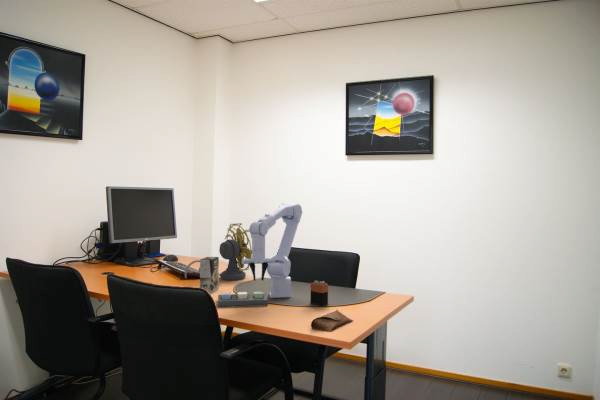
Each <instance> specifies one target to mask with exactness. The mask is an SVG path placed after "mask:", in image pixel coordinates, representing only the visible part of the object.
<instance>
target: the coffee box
mask: <svg viewBox="0 0 600 400" xmlns="http://www.w3.org/2000/svg"><path fill="white" fill-rule="evenodd" d="M219 259H220V258H219V256H206V257H203V258H201V259H199V260H200V262H199V268H200V275H199V289H200V288H203V289H205V290H207V291H208V292H209V293H208V294H214V293H215V292H216V291H218V290H220V288H219V285H220V284H219V283H220V282H219V279H220V276H219V274H220V272H219V271H220V270H219V269H220V267H219V266H220V265H219V263H220V261H219Z"/></svg>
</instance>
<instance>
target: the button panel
mask: <svg viewBox="0 0 600 400" xmlns="http://www.w3.org/2000/svg"><path fill="white" fill-rule="evenodd" d="M268 302H269V301H268V297H267V295H266V293H264V292H263V298H254V293H247V298H246V299H238V293H235V294H233V293H231V299H222V294H218V296H217V308H232V307H233V308H237V307H238V308H239V307H263V306H265V307H267V306H268Z"/></svg>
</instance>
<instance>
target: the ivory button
mask: <svg viewBox="0 0 600 400" xmlns="http://www.w3.org/2000/svg"><path fill="white" fill-rule="evenodd" d="M237 294H238V299H246V298H247V294H248V292H247V291H239V292H237Z"/></svg>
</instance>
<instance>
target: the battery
mask: <svg viewBox="0 0 600 400" xmlns="http://www.w3.org/2000/svg"><path fill="white" fill-rule="evenodd" d="M310 304H312V305H314V306H315V305H316V306H321V307H323V306H326V305H329V284H328V283H326V282H325V281H324V280H323V281H319V280H314V282H310Z"/></svg>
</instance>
